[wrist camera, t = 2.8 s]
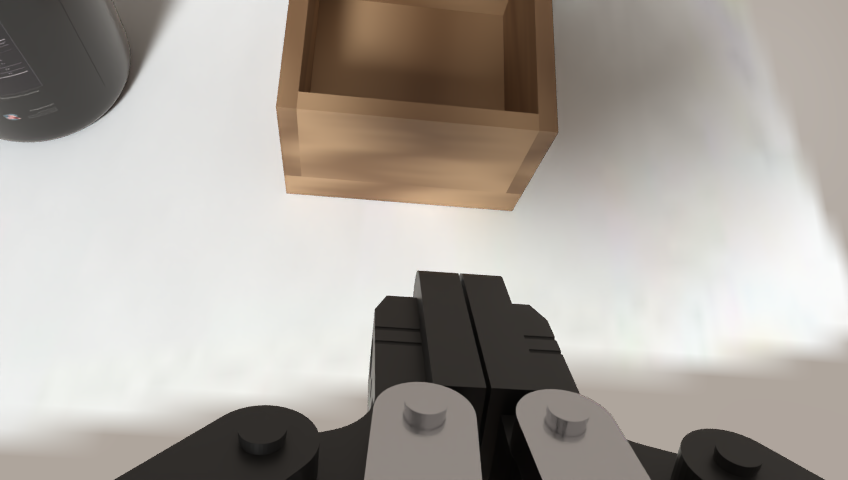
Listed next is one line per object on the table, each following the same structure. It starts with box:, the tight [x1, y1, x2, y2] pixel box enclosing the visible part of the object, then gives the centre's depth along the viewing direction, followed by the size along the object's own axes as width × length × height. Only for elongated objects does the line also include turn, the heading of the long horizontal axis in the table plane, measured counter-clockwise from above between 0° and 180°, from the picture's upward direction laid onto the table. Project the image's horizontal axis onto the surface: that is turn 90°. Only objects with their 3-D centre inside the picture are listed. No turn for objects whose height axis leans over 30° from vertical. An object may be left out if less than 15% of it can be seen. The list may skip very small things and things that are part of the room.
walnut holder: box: [276, 0, 558, 211], centre depth 26 cm, size 9×9×6 cm
